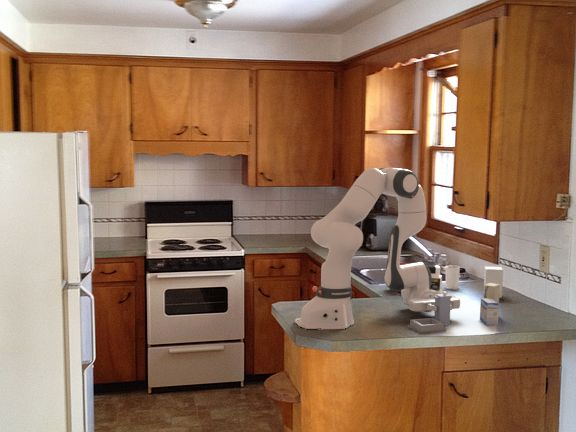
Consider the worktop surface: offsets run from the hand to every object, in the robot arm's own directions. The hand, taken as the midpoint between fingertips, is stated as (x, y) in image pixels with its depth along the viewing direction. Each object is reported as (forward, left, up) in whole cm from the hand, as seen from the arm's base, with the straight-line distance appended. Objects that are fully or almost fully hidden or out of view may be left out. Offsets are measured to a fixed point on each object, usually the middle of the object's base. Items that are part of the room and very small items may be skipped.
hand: (443, 308), depth 266 cm
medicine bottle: (+24, +54, -7) cm, 59 cm away
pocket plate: (-8, -3, -6) cm, 11 cm away
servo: (0, +1, -6) cm, 6 cm away
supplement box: (+45, +38, -7) cm, 59 cm away
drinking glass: (+36, +58, -7) cm, 69 cm away
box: (+24, +6, -7) cm, 26 cm away
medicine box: (+18, -2, -7) cm, 19 cm away
